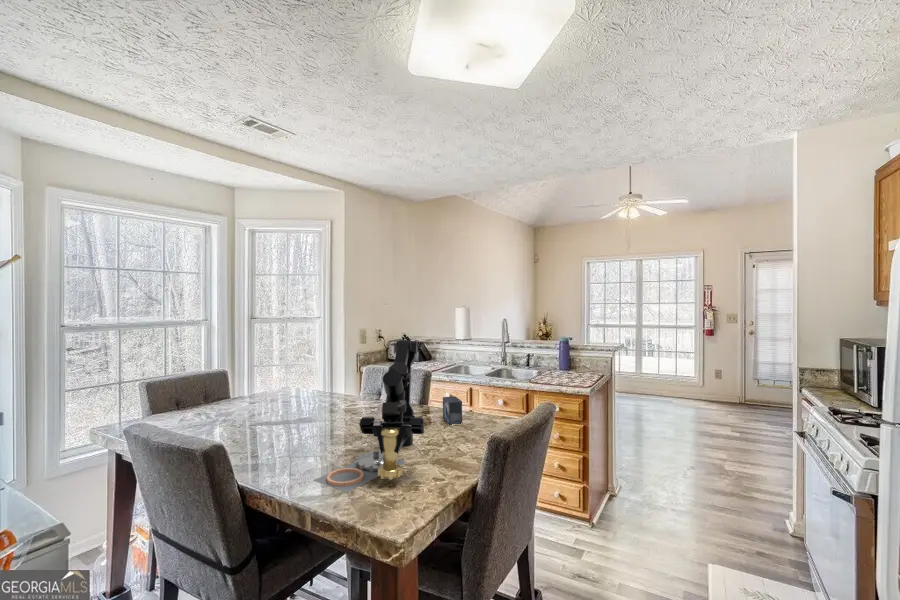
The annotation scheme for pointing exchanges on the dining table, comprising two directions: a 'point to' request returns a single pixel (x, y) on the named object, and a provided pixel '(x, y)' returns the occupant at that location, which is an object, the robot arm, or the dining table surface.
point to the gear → (369, 461)
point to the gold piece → (389, 454)
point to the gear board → (348, 477)
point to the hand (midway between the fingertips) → (389, 453)
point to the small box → (452, 410)
